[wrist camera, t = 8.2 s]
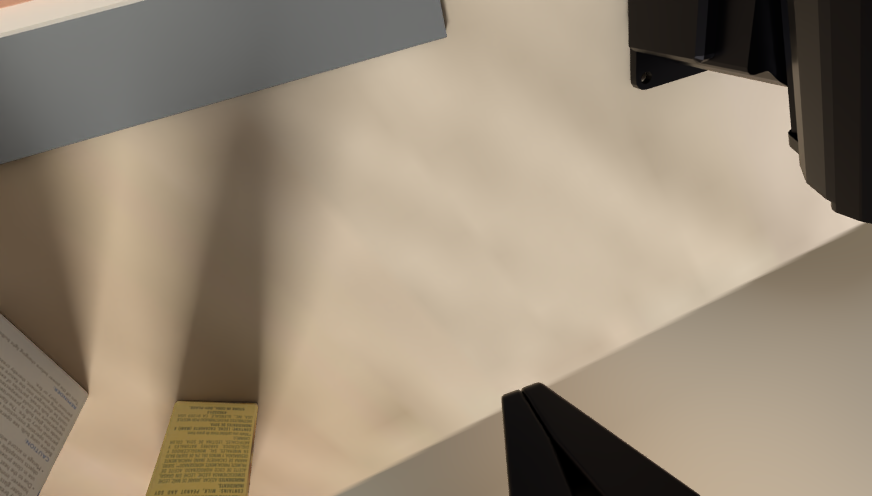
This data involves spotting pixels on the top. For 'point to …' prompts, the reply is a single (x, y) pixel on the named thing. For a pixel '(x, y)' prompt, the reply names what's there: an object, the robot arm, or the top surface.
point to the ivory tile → (48, 12)
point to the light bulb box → (32, 412)
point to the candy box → (206, 450)
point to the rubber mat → (183, 60)
